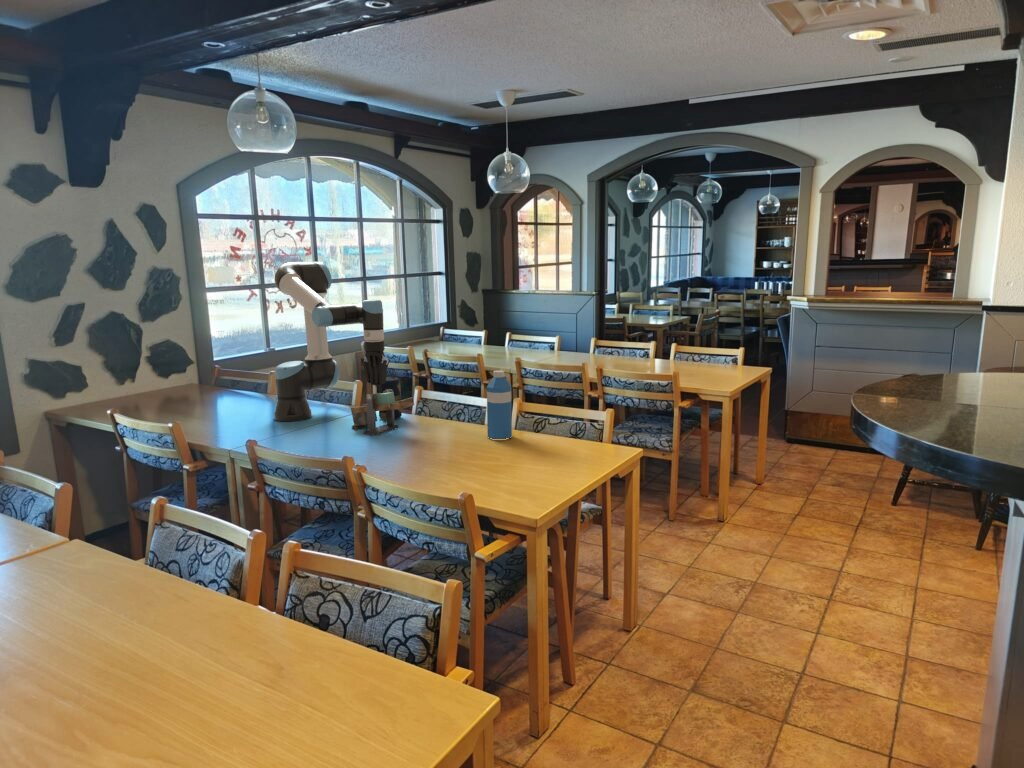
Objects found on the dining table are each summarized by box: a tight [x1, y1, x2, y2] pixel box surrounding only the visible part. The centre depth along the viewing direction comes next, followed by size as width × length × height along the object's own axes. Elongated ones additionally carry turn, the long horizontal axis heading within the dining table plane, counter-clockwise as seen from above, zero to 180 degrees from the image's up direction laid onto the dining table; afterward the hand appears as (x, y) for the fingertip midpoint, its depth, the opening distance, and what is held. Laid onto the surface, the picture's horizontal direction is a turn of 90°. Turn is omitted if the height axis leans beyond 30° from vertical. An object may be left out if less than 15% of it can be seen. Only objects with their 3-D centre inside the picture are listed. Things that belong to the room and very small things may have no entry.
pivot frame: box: [363, 389, 400, 436], centre depth 263 cm, size 6×14×15 cm, turn 150°
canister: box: [378, 375, 403, 421], centre depth 282 cm, size 10×10×18 cm
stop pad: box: [351, 424, 368, 431], centre depth 270 cm, size 3×7×1 cm, turn 150°
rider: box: [376, 392, 395, 405], centre depth 261 cm, size 6×4×5 cm, turn 59°
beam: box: [350, 391, 415, 426], centre depth 263 cm, size 26×9×12 cm, turn 60°
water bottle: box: [486, 369, 513, 439], centre depth 251 cm, size 9×9×25 cm
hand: (377, 401), depth 263 cm, fingers closed
